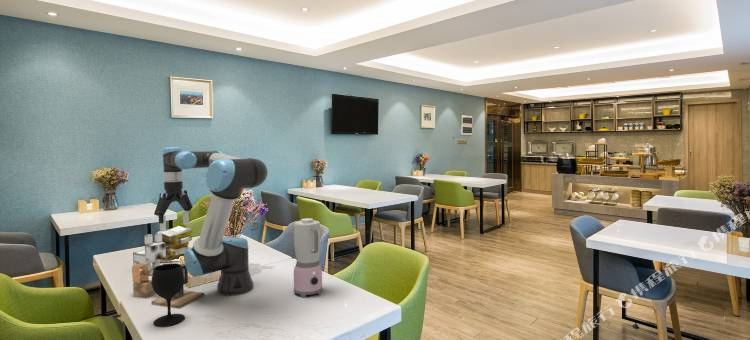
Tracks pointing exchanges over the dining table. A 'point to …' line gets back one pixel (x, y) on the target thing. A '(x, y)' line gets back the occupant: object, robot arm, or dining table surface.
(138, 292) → the rest block
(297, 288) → the blender
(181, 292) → the eye post
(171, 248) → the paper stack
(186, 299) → the base board
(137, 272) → the hook
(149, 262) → the toy llama
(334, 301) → the dining table surface
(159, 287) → the wine glass
